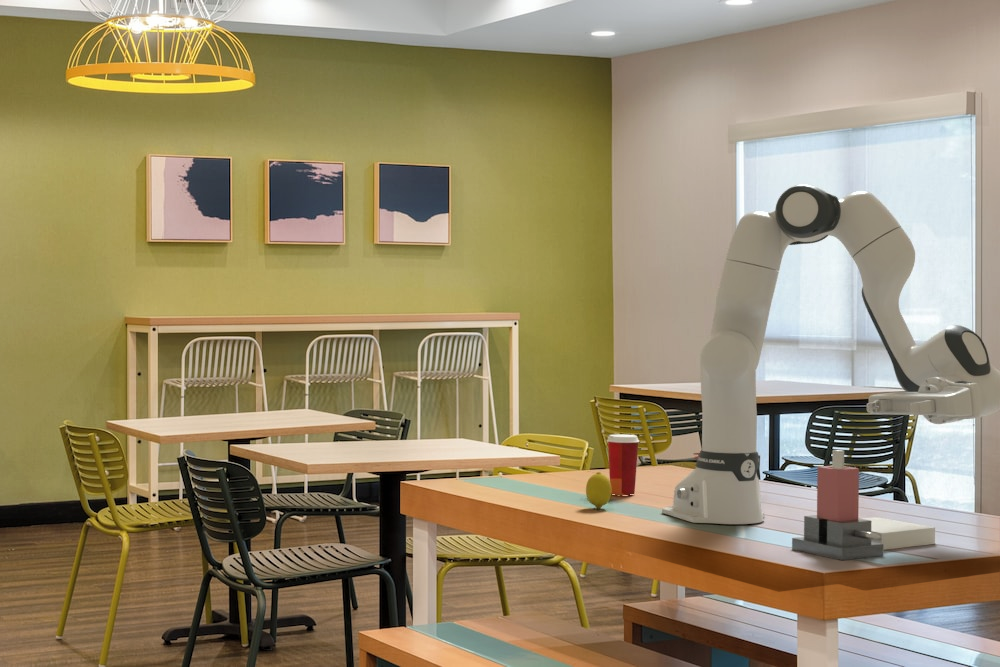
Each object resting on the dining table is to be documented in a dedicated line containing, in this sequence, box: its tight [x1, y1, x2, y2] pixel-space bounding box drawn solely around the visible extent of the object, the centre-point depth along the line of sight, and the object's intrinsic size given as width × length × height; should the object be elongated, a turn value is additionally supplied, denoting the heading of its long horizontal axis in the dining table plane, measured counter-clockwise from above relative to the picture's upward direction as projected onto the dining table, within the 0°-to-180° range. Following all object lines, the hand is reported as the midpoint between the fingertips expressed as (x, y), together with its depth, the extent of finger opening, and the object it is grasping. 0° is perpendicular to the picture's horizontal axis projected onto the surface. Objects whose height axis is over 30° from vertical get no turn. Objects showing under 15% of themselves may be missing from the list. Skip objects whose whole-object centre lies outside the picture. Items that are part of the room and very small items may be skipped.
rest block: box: [861, 516, 936, 551], centre depth 230 cm, size 14×14×3 cm
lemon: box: [585, 471, 612, 510], centre depth 267 cm, size 6×6×8 cm
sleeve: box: [816, 465, 860, 521], centre depth 218 cm, size 5×5×9 cm
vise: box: [791, 449, 884, 561], centre depth 216 cm, size 16×10×18 cm, turn 30°
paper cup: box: [606, 433, 640, 495], centre depth 290 cm, size 8×8×14 cm
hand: (888, 408), depth 224 cm, fingers open, 8 cm apart
